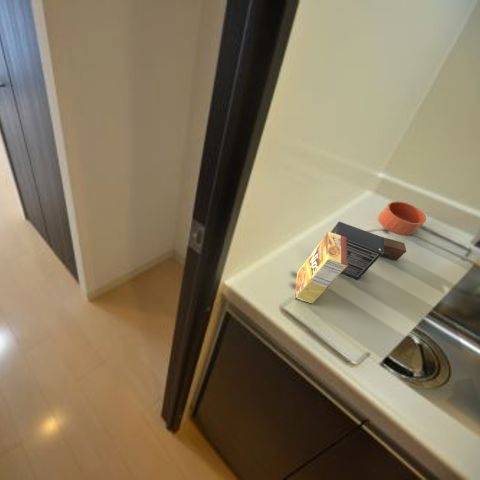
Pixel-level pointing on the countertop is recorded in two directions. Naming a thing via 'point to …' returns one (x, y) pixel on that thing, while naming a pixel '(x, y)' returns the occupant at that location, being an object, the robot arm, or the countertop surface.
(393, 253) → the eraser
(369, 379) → the countertop surface
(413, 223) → the bowl
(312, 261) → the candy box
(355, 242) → the small box
